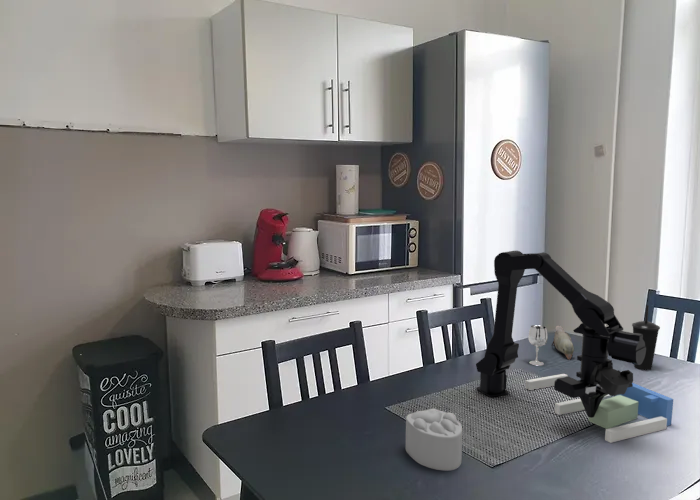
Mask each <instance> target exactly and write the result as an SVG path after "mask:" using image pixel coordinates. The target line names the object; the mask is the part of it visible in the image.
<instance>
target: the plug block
mask: <svg viewBox="0 0 700 500" xmlns="http://www.w3.org/2000/svg"><path fill="white" fill-rule="evenodd" d="M638 404H639V402H638V401H635V400H632V399H630V398H627V397H624V396H622V395H618V396H615V397H614V396H613V397H611V398H608V399H605V400H602V401H601V403H600V405H599V407H598V409H597V411H596V413H595V416H594V417H592V418H590V417H588V422H589V421H590V423H591V424H594V425H597V426H599V427H601V428H604V429H605V430H606V429H610V428H614V427H618V426H621V425H624V424H625V423H629V422H631V421H634V420H636V419H638V416H639V414H638Z"/></svg>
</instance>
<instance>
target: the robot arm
mask: <svg viewBox="0 0 700 500" xmlns="http://www.w3.org/2000/svg"><path fill="white" fill-rule="evenodd" d="M493 267H494V271H493V272H494V276H495V279H496V281H497V285H498V287H497V296H496V298H497V299H496V305H495V306H496V307H495V314H494V315H495V316H494V325H493V333H492V334H493V335H492V337H491V338H490V340H489V342H488V343H487V346H486V349H485V353H484V355H483V356H484V357H483V358H481V359H480V360H479V361H478V362H476V364H475V367H476V371H477V372H478V373H480V380H479V386H477V387H476V390H477V391H479V392H480V393H482V394H484V395H485V394H486V396H487V397H490V398H494V397H500V396H504V395H509V394H510V392H509V390H507V384H508V383H507V379H508V378H507V377H508V375H507V370H509V369H510V367H511V365H512V364H514V363H515V362H516V360H517V358H519V354H518V353H519V352H518V351H519V349H520V346H519V345H520V344H519V343H518V342H515V341H514V338H513V328H514V319H515V309H516V301H517V290H518V285H519V283H520V282H521V280H522V278H523V277H524V274H525V270H535V271H536V272H537V273H539V275H541V277H543V278H544V280H546V282H548V283H550V285H551V286H552V287H553V288H554V289H556V291H558V292H559V293H560V294H561V296H562V297H564V298H565V299H566V300H567V301H568V303H570V305H571V307H572V309H573V312H574V314H575V315H576V316H577V317H578V319H579V321H580V322H581V323H580V324H579V325H578V327H576V328H574V329H573V333H575V334H580V335H582V336H581V337H582V338H581V354H580V355H579V354H578V355H577V357H576V360H577V361H578V362H579V361H580V371H576V373H575V376H576V378H579V380H577V379H576V378H572V377H571V376H568V377H563V378H558V379H557V380H555V385H554V386H553V387H554V391H557V392H559V393H561V394H563V395H565V396H566V397H569V398H573V399H577V398H579V399H581V401H582V404H583V406H584V408H585V410H584V411H585V412H586V414H587V417H588V418H589V417H590V418H592V417H594V416H595V413H596V411H597V409H598V407H599V405H600V403H601V401H602V399H603V397H604V396H606V395H608V394H609V395H611V396H613V397H614V396H616V395H619V394H625V392H626V390H627V388H628V387H632V386H633V384H632V383H633V382H634V373H633V372H632V371H631V370H629V369H627V370H619V369H615V368H614V367H613V362H612V361H613V360H617V361H620V362H625V363H630V364H633V365H634V364H637V365H640V364H642V362H643V360H644V358H645V354H646V347H645V342H644V340H643V335H642V334H639V333H633V332H629V331H625V330H624V327H623V326H622V324H621V323H620V320H618V319H619V318H617V317H616V315H615V308H614V307H613V305H612V304H611V303H610V302H609V301H607V300H605V299H604V298H602V297H601V296H600V295H597V294H595V293H593V292H591V291H589V290H587V289H586V288H584V287H583V286H582V285H581V284H580V283H579V282H578V281H576V280H575V278H573V277H572V276H571V275H570V274H569V272H567V271H566V270H565V269H564V268H562V266H560V265H559V264H558V263H557V262H556V261H555V260H554V259H553V258H552V257H551V255H550V254H549V253H547V252H545V251H544V252H534V253H533V252H532V253H523V252H522V251H520V250H509V251H503V252H499V253H498V254H497V255H496V256H495V257H494V260H493ZM609 357H611V359H613V360H611V359H609Z"/></svg>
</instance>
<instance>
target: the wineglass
mask: <svg viewBox="0 0 700 500" xmlns="http://www.w3.org/2000/svg"><path fill="white" fill-rule="evenodd" d="M527 338H528V341H529V343H530V344H531V346H534V347H535V353H536V354H535V356H536V357H535V359H534V360H531V361H529V364H530V365H533V366H539V367H541V366H544V365H545V363H544V362H543V361H539V359H538V357H539V352H540V351H539V350H540V349H539V347H541V348H542V347H543V346H545V345H547V342H548V330H547V326H544V325H540V324H539V325H538V324H532V325H530V328H529V330H528V337H527Z"/></svg>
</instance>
